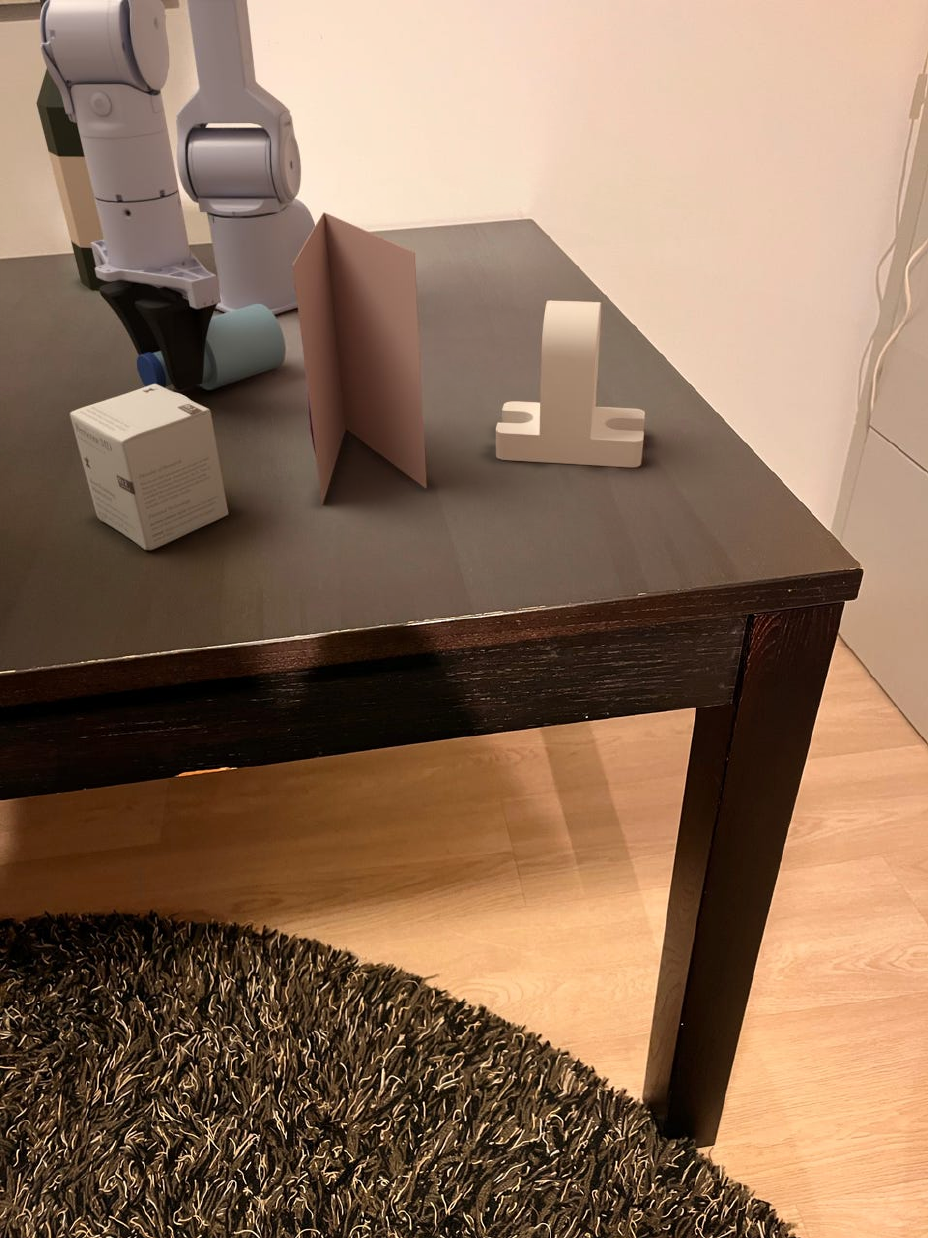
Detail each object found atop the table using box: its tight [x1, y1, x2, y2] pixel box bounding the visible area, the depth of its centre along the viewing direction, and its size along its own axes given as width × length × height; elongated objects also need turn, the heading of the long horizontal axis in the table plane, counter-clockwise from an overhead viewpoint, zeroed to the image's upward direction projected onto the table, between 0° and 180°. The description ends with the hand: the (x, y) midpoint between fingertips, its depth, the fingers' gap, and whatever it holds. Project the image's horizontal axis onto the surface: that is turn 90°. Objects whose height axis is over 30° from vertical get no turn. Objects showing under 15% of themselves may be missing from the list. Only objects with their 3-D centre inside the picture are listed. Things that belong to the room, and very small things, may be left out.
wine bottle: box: [36, 0, 115, 291], centre depth 94 cm, size 8×8×30 cm
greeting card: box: [293, 212, 427, 505], centre depth 62 cm, size 11×7×15 cm, turn 178°
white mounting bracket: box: [495, 300, 646, 468], centre depth 65 cm, size 5×10×10 cm, turn 80°
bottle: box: [136, 304, 287, 391], centre depth 77 cm, size 5×5×11 cm
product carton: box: [69, 384, 229, 551], centre depth 59 cm, size 6×6×7 cm
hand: (175, 379), depth 76 cm, fingers closed on bottle, 3 cm apart
